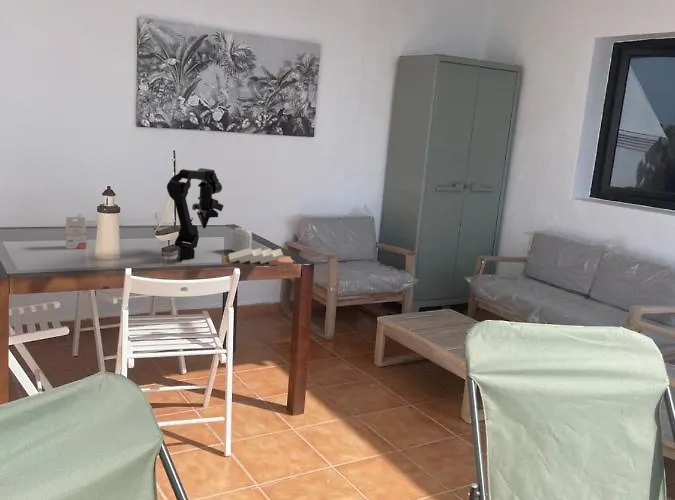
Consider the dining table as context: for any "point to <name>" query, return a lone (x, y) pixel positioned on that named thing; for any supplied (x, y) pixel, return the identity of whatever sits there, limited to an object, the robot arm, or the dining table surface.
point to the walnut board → (226, 261)
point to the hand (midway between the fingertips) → (204, 228)
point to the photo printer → (241, 239)
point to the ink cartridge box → (75, 233)
